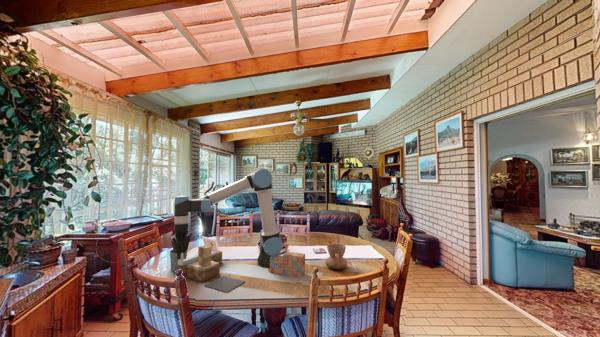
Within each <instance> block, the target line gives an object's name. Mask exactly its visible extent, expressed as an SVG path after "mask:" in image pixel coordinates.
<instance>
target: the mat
mask: <svg viewBox="0 0 600 337" xmlns="http://www.w3.org/2000/svg"><path fill="white" fill-rule="evenodd" d="M244 283H246V281H245V280H241V279H238V278H233V277H231V276H230V277H229V276H226V275H222V276H220V277H219V278H215V280H213V281H210V282H208V283H206V284H204V287H205V288H208V289H213V290H215V291H219V292H223V293H227V294H229V293H230V292H232V291H233V290H235V289H237V288H238V287H239V286H241V285H243V284H244Z"/></svg>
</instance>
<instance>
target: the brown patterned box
mask: <svg viewBox="0 0 600 337" xmlns="http://www.w3.org/2000/svg"><path fill="white" fill-rule="evenodd" d="M269 273H271V274H278V275H283V276H284V275H285V276H290V277H296V278H297V277H298V278H302V277H304V275H305V274H306V253H302V252H294V251H285V253H283V254H282V255H280V254H278V255H274V256H271V257H270V267H269Z"/></svg>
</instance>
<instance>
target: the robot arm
mask: <svg viewBox="0 0 600 337" xmlns="http://www.w3.org/2000/svg"><path fill="white" fill-rule="evenodd" d="M248 189H249V190H252V189H253V192H254V193H256V196H257V200H258V208H259V214H260V215H259V216H260V220H261V227H262V229H261V230H260V232H259V254H258V257H257V260H256V262H257V265H258V266H259V267H264V268H270V257H271V256H274V255H280V253H281V251H282V250H283V248H284V246H283V241H282V238H281V232H280V230H279V229H278V228H277V223H276V217H275V210H274V204H273V203H274V202H273V197H272V190H273V175H272V173H271V172H270V170H268V169H266V168H258V169H255V170H254V171H252V172H250V173H249V174H247V175H245V176H244V178H242V179H239V180H237V181H234V182H233V183H230V184H228V185H226V186H224V187H221V188H219V189H217V190H215V191H212V192H210V193H207V194H205V195H203V196H200V197H198V198H194V199H191V198H190V197H189V195H177V196H175V197H174V204H173V205H174V206H173V208H174V211H173V213H174V216H173V223H174V224H173V231H174V232H173V236H170V237H169V240H170V241H171V246H172V249H173V251H174V253H177V259H178V265H183V261H184V256H185V253H186V250H187V251H188V250H189V245H190V241H191V237H192V235H193V233H192V232H189V222H190V221H189V219H190V217H189V216H190V214H189V213H206V212H210V211H211V208H212V206H213V205H215V204H218V203H220V202H223V201H224V200H226V199H229V198H231V197H233V196H235V195H237V194H240V193H242V192H244V191H246V190H248Z"/></svg>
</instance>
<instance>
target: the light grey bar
mask: <svg viewBox="0 0 600 337" xmlns="http://www.w3.org/2000/svg"><path fill="white" fill-rule="evenodd" d="M198 255H199V254H196V255H193V256H189V257H186V259H184V261H183V265H181V266H184V265H187V264H190V263H192V262H195V261H198Z"/></svg>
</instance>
